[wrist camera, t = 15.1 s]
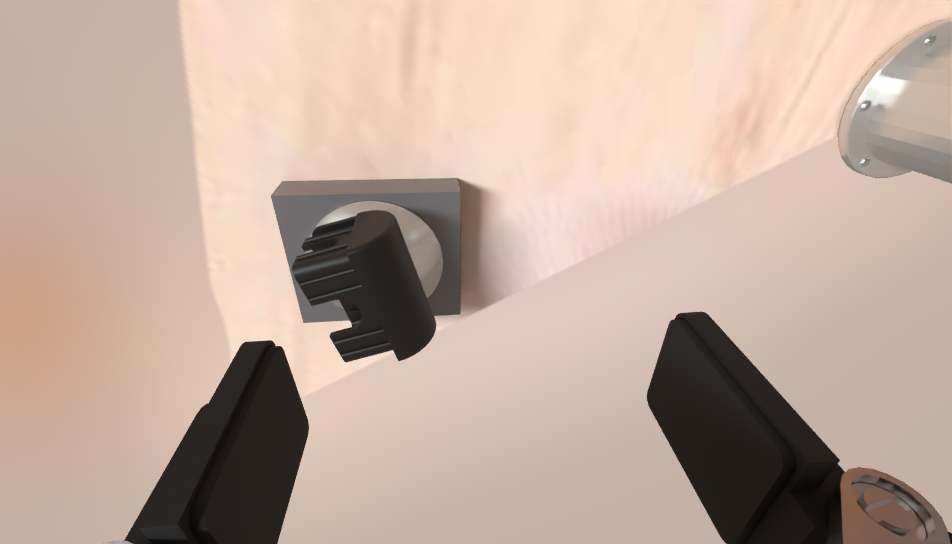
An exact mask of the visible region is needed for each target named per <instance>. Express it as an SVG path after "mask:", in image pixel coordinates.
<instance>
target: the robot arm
mask: <svg viewBox="0 0 952 544" xmlns="http://www.w3.org/2000/svg"><path fill="white" fill-rule="evenodd" d="M838 143H839V150H840V154H841V157H842V159H843V160H844V162H845V163H846V165H847V166H849V167H850V168H851V169H852V170H854V171H856V172H858V173H861V174H863V175H866V176H870V177H875V178H888V177H893V176H898V175H902V174H905V173H907V172H910V171H916V172H919V173H922V174H925V175H928V176H931V177H934V178H937V179H940V180H943V181H946V182H949V183H952V18H948V19H943V20H939V21H936V22H934V23H931V24H929V25H926V26H924V27H922V28H920V29H918V30H917V31H915V32H913V33H912V34H910V35H908V36H906V37H905V38H904V39H903V40H901V41H900V42H899V43H897V44H896V45H895V46H893V47H892V48H891V49H890V50H889V51H888V52H886V53H885V54H884V55H883V56H882V57H881V58H880V59H879V60H878V61H877V62H876V63H875V64H874V65H873V67H872V68H871V69H870V70H869V71H868V73H867V74H866V75H865V76H864V77H863V79H862V80H861V82H860V83H859V85H858V86H857V88H856V89H855V91H854V92H853V94H852V96H851V98H850V100H849V102H848V104H847V106H846V108H845V111H844V114H843V117H842V119H841V123H840V129H839V134H838ZM647 401H648V405H649V407H650V409H651V411H652V413H653V415H654V416H655V418H656V420H657V422H658V424H659V426H660V427H661V429H662V431H663V433H664V435H665V437H666V438H667V440H668V442H669V444H670V446H671V447H672V449H673V451H674V453H675V455H676V457H677V458H678V460H679V462H680V464H681V465H682V467H683V469H684V471H685V473H686V475H687V477H688V478H689V480H690V482H691V484H692V485H693V487H694V489H695V491H696V493H697V495H698V496H699V498H700V500H701V502H702V504H703V506H704V508H705V509H706V511H707V513H708V515H709V517H710V518H711V520H712V522H713V524H714V526H715V527H716V529H717V531H718V533H719V535H720V536H721V538H722V540H724V542H725V543H727V544H952V533H950V532H948V531H947V528H946V526H945V524H944V521H943V519H942V517H941V516H940V515H939V514H938V512H937V511H936V510H935V508H934V507H933V506H932V505H931V504H930V503H929V502H928V501H927V500H926V499H925V498H924V497H923V496H922V495H921V494H919V493H918V492H917V491H916V490H914V489H913V488H911V487H910V486H908V485H907V484H905V483H904V482H902V481H900V480H898V479H896V478H894V477H892V476H890V475H888V474H886V473H883V472H880V471H877V470H874V469H869V468H860V467H858V468H853V469H849V470H847V471H846V472H844V471H843V469H842V468H841V467H840V466H839V465H838V462H839V461H840V460H839V459H838V458H837V457H836V455H835V454H834V453H833V452H832V451H831V450H830V449H829V448H828V447H827V445H826V444H825V443H824V442H823V441H822V440H821V439H820V438H819V437H818V436H817V434H816V433H815V432H814V431H813V430H812V429H811V428H810V427H809V426H808V425H807V423H806V422H805V421H804V420H803V419H802V418H801V417H800V416H799V415H798V414H797V412H796V411H795V410H794V409H793V408H792V407H791V406H790V405H789V403H787V401H786V400H785V399H784V398H783V397H782V396H781V395H780V394H779V392H778V391H777V390H776V389H775V388H774V387H773V386H772V385H771V384H770V382H768V380H767V379H766V378H765V377H764V376H763V375H762V374H761V373H760V371H759V370H758V369H757V368H756V367H755V366H754V365H753V364H752V363H751V362H750V360H749V359H748V358H747V357H746V356H745V355H744V354H743V353H742V352H741V351H740V349H739V348H738V347H737V346H736V345H735V344H734V343H733V342H732V341H731V339H730V338H729V337H728V336H727V335H726V334H725V333H724V332H723V331H722V329H721V328H720V327H719V326H718V325H717V324H716V323H715V322H714V321H713V320H712V318H711V317H710V316H709V315H708V314H706V313H704V312H691V313H680V314H678V315H677V316H676V318H675V319H674V320H671V321H670V323H669V326H668V329H667V332H666V335H665V338H664V341H663V345H662V348H661V351H660V354H659V357H658V360H657V364H656V367H655V370H654V373H653V377H652V379H651V383H650V386H649V389H648V392H647ZM308 431H309V425H308V419H307V416H306V414H305V410H304V407H303V404H302V402H301V399H300V396H299V393H298V390H297V387H296V384H295V381H294V379H293V376H292V373H291V370H290V367H289V364H288V361H287V358H286V356H285V353H284V350H283V348H282V347H281V346H275V344H274V342H273V341H270V340H269V341H254V342H245V343H243V344H242V345H241V347H240V348H239V350H238V352H237V354H236V355H235V357H234V359H233V361H232V362H231V364H230V366H229V368H228V370H227V371H226V373H225V375H224V377H223V379H222V380H221V382H220V384H219V386H218V388H217V389H216V391H215V393H214V395H213V396H212V398H211V400H210V402H209V403H208V404H206V405H205V406H203V407H202V408H201V409H200V411H199V412H198V413H197V415H196V416H195V418H194V420H193V422H192V423H191V425H190V427H189V429H188V430H187V432H186V434H185V436H184V438H183V439H182V441H181V443H180V444H179V446H178V448H177V450H176V451H175V453H174V455H173V457H172V458H171V460H170V462H169V464H168V465H167V467H166V469H165V471H164V472H163V474H162V476H161V478H160V479H159V481H158V483H157V485H156V486H155V488H154V490H153V491H152V493H151V495H150V497H149V499H148V500H147V502H146V504H145V505H144V507H143V509H142V511H141V512H140V514H139V516H138V518H137V519H136V521H135V523H134V525H133V526H132V528H131V530H130V532H129V533H128V535H127V537H126V539H125V540H124V541H112V542H108V543H105V544H277V542H278V539H279V535H280V532H281V528H282V525H283V521H284V517H285V514H286V511H287V507H288V503H289V500H290V497H291V493H292V489H293V486H294V483H295V479H296V476H297V472H298V469H299V465H300V462H301V458H302V455H303V451H304V448H305V444H306V440H307V437H308Z"/></svg>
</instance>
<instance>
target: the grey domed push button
mask: <svg viewBox="0 0 952 544" xmlns="http://www.w3.org/2000/svg"><path fill="white" fill-rule="evenodd" d="M271 198H272V202H273V206H274V210H275V214H276V217H277V221H278V225H279V229H280V233H281V237H282V241H283V245H284V249H285V253H286V256H287V260H288V264H289V268H290V272H291V276H292V280H293V284H294V288H295V291H296V295H297V299H298V303H299V307H300V311H301V315H302V319H303V323H308V322H327V321H345V320H350V319H349V318H348V316H347V314H346V312H345V310H344V308H343V306H342V305H341V303H340V300H334V301H329V302H326V303H322V304H318V305H315V306H311V305H310V303H309V301H308V299H307V298H306V296H305V294H304V293H303V291H302V289H301V288H300V286H299V284H298V283H297V281H296V279H295V277H294V275H293V272H292V265H293V263H294V261H295V259H296V257H297V256H299V255H302V254H306V253H310V252H313V251H312V250H309V251H305V252H304V251H303V249H302V245H303V243H304V241H305V239H306V238H310V237H312V233H313V231H314V228H316V227H318V226H321V225H324V224H328V223H332V222H335V221H339V220H343V219H346V218H350V217H353V216H357V213H360V212H364V211H371V210H383V211H387V212H390V213H392V214H393V215H394V216H395V218H396V219H397V222H398V224H399V227H400V230H401V232H402V235H403V237H404V240H405V242H406V245H407V248H408V250H409V253H410V255H411V258H412V261H413V263H414V266H415V268H416V271H417V274H418V276H419V279H420V281H421V284H422V286H423V289H424V292H425V294H426V297H427V299H428V302H429V305H430V307H431V310H432V312H433V315H434V316H437V315H456V314H460V244H461V191H460V187H459V182H458V178H447V179H391V180H335V181H282V182H281V184H280V185H279V186H278V187H277V189H276V190H275V191H274V192H273V194H272V195H271Z"/></svg>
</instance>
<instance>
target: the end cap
mask: <svg viewBox="0 0 952 544" xmlns="http://www.w3.org/2000/svg"><path fill="white" fill-rule="evenodd" d="M302 249H303V251H304V252H305V251H309V250H312V251H313V252H310V253H306V254H302V255H299V256H297V257H296V259H295V261H294V263H293V265H292V272H293V275H294V277H295V279H296V281H297V283H298V284H299V286H300V288H301V289H302V291H303V293H304V294H305V296H306V298H307V299H308V301H309V303H310V305H311V306H315V305H318V304H322V303H326V302H329V301H334V300H340V303H341V305H342V306H343V308H344V310H345V312H346V314H347V316H348V318H349V319H350V321H351V323H352V327H351V328H347V329H343V330H340V331H336V332H332V333H331V334H330V338H331V340H332V342H333V343H334V345H335V347H336V348H337V350H338V352H339V353H340V355H341V357H342V358H343V360H344V361H345V362H349V361H353V360H357V359H361V358H364V357H368V356H372V355H376V354H380V353H383V352H387V351H391V350H393V351H394V353H395V355H396V357H397V359H398V361H401V360H404V359H406V358H409V357H411V356H413V355H415V354H416V353H418V352H419V351H421V349H423V348H424V347H425V346H426V345H427V344H428V343H429V342H430V340H431V339H432V337H433V336H434V333H435V330H436V321H435V317H434V315H433V312H432V310H431V307H430V305H429V302H428V299H427V297H426V294H425V292H424V289H423V286H422V284H421V281H420V279H419V276H418V274H417V271H416V268H415V266H414V263H413V261H412V258H411V255H410V253H409V250H408V248H407V245H406V242H405V240H404V237H403V235H402V232H401V230H400V227H399V224H398V222H397V219H396V218H395V216H394V215H393V214H392V213H390V212H387V211H383V210H371V211H364V212H360V213H357V216H353V217H350V218H346V219H343V220H339V221H335V222H332V223H328V224H324V225H321V226H318V227H316V228H314V231H313V233H312V237H310V238H306V239H305V241H304V243H303V245H302Z"/></svg>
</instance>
